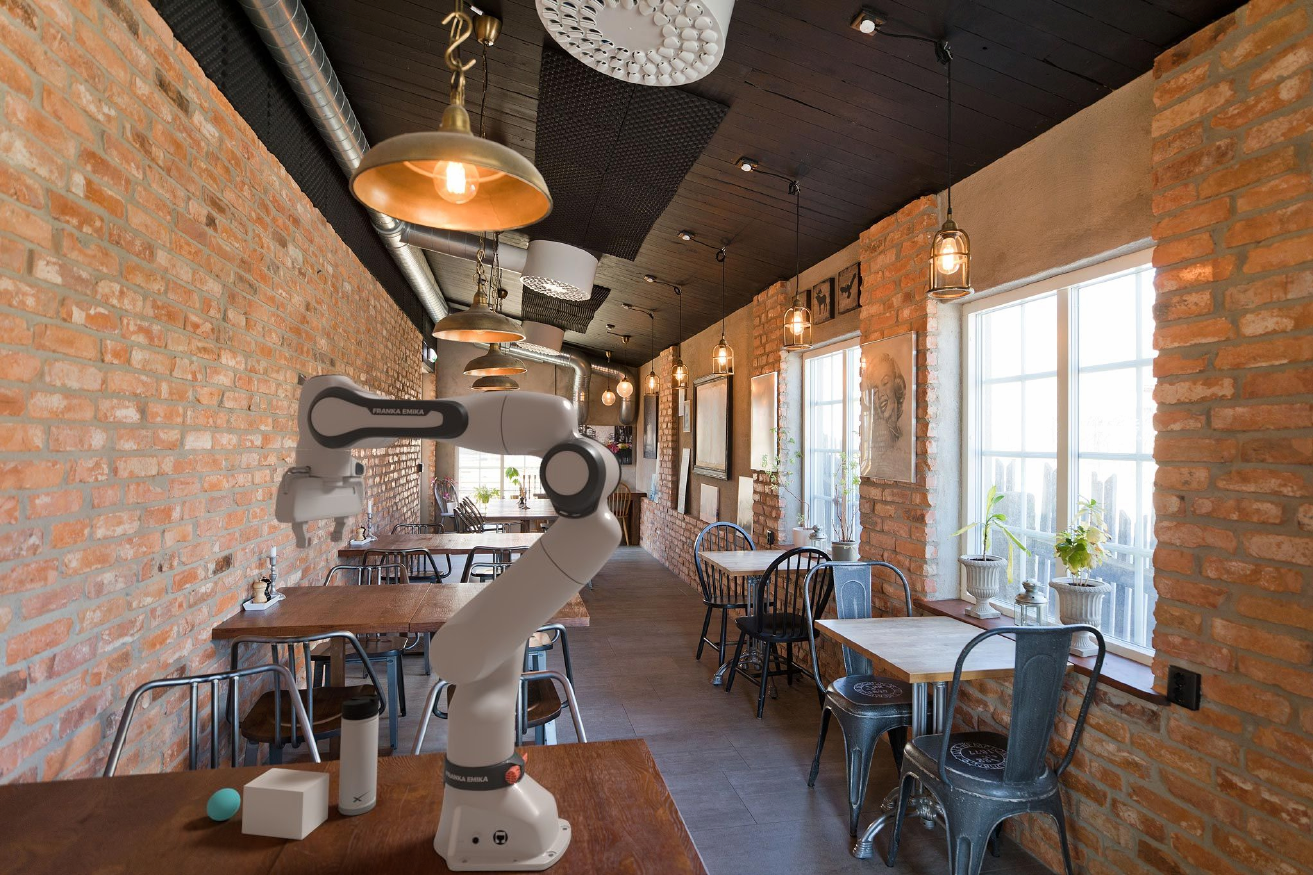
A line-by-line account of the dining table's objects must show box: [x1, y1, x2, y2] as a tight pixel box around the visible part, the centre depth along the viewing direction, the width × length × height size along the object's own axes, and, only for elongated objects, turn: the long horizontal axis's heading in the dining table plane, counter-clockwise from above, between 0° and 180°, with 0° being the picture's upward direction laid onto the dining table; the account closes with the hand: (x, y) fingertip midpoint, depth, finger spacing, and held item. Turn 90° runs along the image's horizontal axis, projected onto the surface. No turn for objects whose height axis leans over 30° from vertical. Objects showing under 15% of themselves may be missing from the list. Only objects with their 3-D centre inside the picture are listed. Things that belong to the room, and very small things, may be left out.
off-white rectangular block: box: [241, 767, 330, 841], centre depth 119 cm, size 11×7×8 cm, turn 82°
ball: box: [206, 787, 241, 822], centre depth 121 cm, size 5×5×5 cm
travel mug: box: [338, 693, 381, 816], centre depth 126 cm, size 6×7×20 cm
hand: (320, 544), depth 122 cm, fingers open, 8 cm apart
